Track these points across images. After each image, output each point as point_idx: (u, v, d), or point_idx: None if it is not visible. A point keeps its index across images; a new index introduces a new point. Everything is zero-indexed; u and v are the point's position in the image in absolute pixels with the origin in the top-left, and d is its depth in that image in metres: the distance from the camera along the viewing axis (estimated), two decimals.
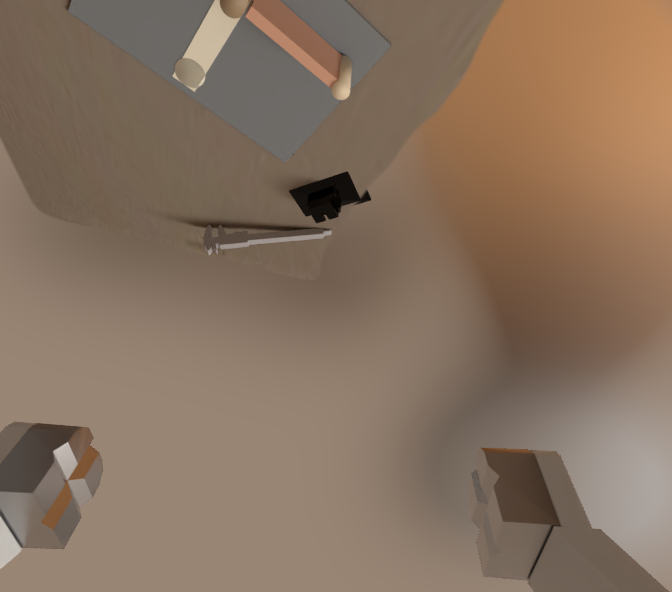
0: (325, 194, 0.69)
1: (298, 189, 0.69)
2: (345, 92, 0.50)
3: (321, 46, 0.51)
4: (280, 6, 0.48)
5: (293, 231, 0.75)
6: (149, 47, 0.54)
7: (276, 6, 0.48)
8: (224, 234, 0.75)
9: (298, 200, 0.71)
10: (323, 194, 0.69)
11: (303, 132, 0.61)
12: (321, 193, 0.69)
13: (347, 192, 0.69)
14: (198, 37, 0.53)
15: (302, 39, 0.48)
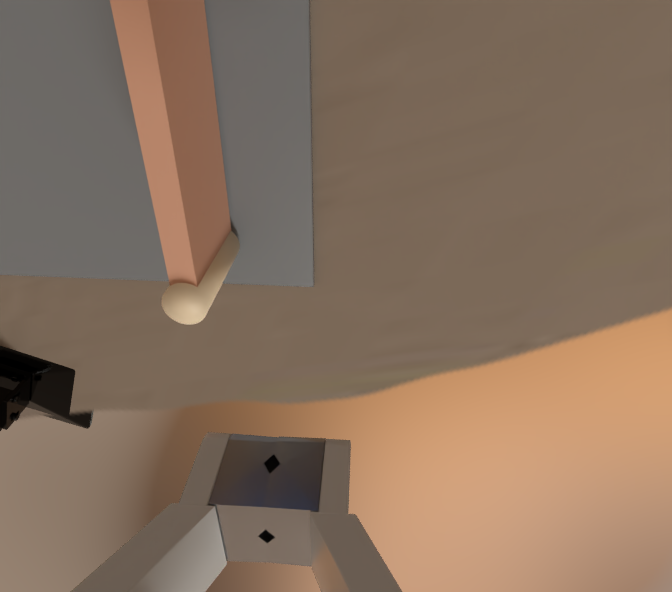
0: (4, 377, 0.32)
1: None
2: (191, 315, 0.21)
3: (215, 194, 0.22)
4: (202, 61, 0.20)
5: None
6: None
7: (196, 53, 0.19)
8: None
9: None
10: (0, 374, 0.32)
11: (52, 263, 0.27)
12: None
13: (52, 396, 0.34)
14: None
15: (193, 155, 0.19)
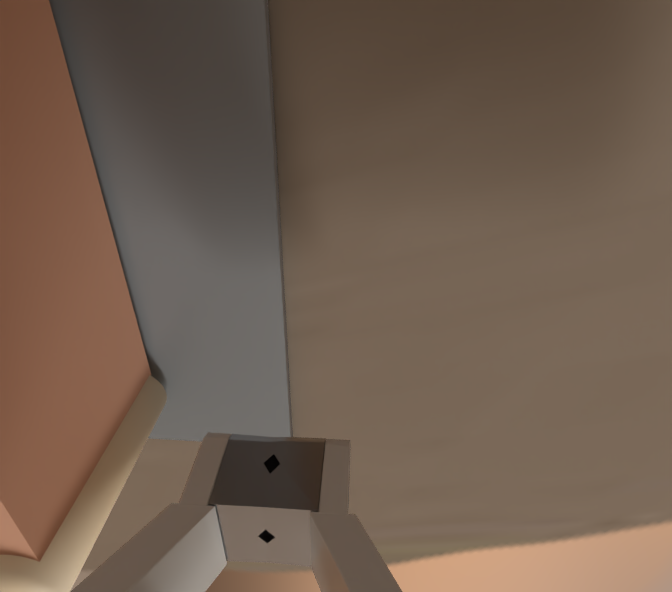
0: None
1: None
2: None
3: (99, 344, 0.12)
4: (41, 110, 0.09)
5: None
6: None
7: (16, 97, 0.09)
8: None
9: None
10: None
11: None
12: None
13: None
14: None
15: (12, 314, 0.09)
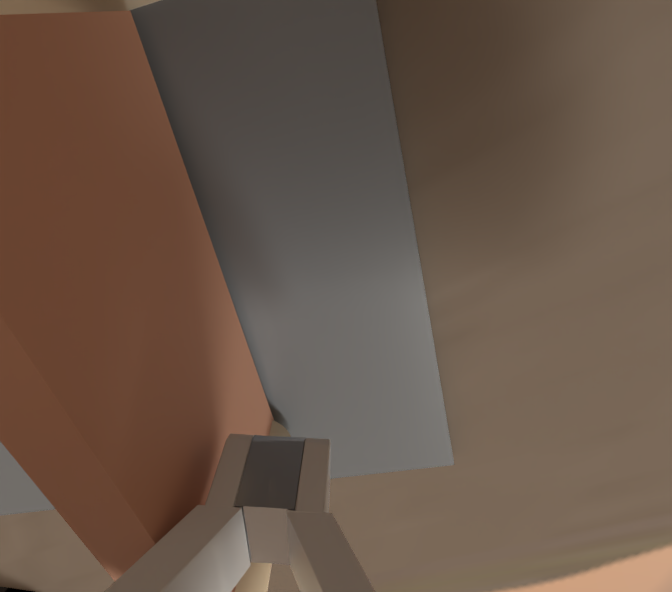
0: None
1: None
2: None
3: (232, 399, 0.11)
4: (155, 167, 0.09)
5: None
6: None
7: (135, 156, 0.08)
8: None
9: None
10: None
11: (42, 495, 0.18)
12: None
13: None
14: None
15: (165, 385, 0.08)
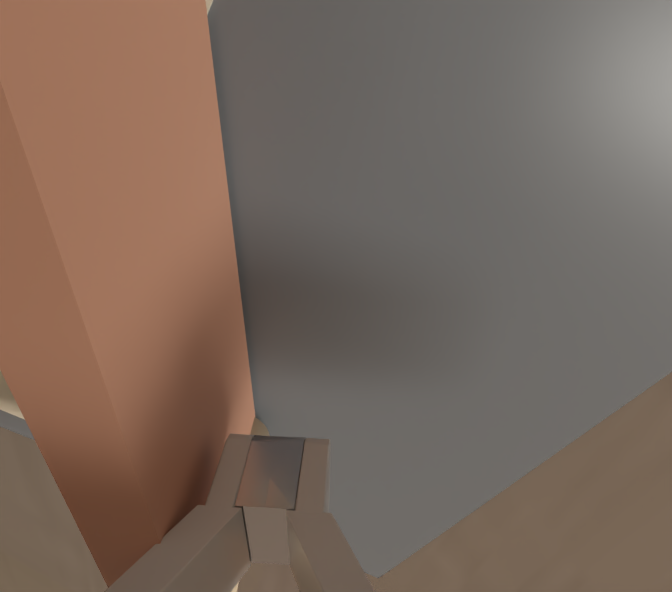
0: None
1: None
2: None
3: (229, 393, 0.11)
4: (202, 149, 0.09)
5: None
6: None
7: (189, 136, 0.08)
8: None
9: None
10: None
11: (449, 505, 0.17)
12: None
13: None
14: None
15: (184, 376, 0.08)
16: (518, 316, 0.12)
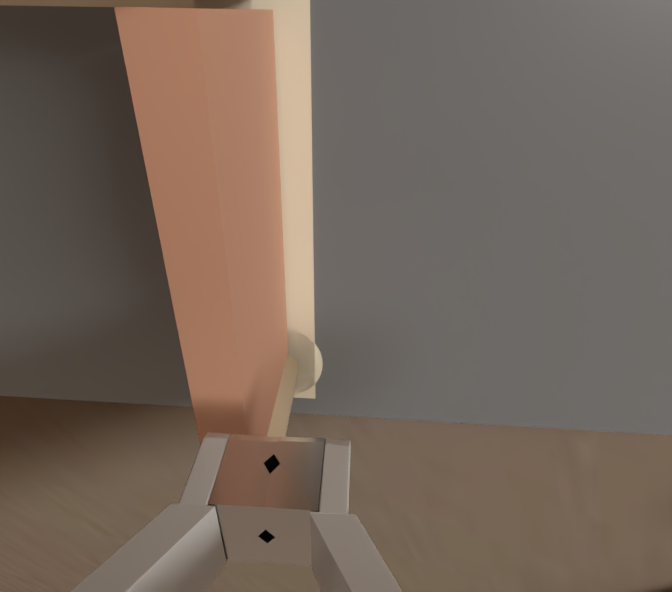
0: None
1: None
2: None
3: (275, 319, 0.14)
4: (268, 127, 0.12)
5: None
6: (154, 362, 0.19)
7: (263, 117, 0.11)
8: None
9: None
10: None
11: None
12: None
13: None
14: None
15: (255, 286, 0.11)
16: None
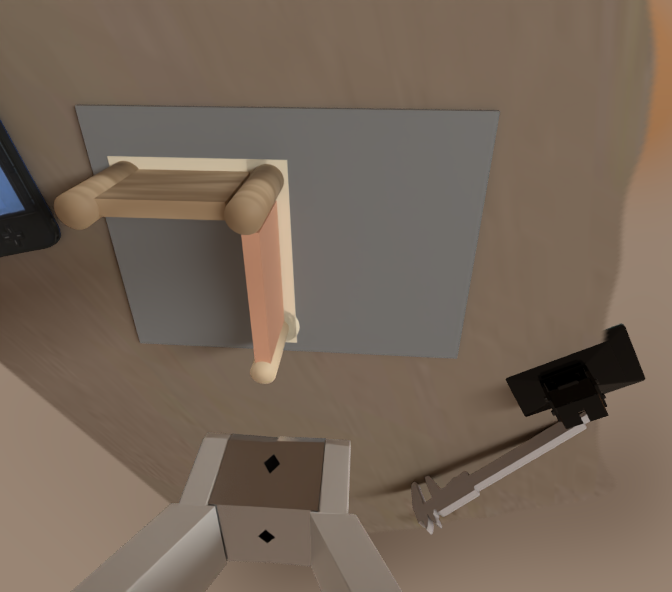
0: (570, 378, 0.42)
1: (520, 374, 0.43)
2: (266, 379, 0.36)
3: (278, 305, 0.38)
4: (275, 239, 0.35)
5: (532, 440, 0.46)
6: (225, 326, 0.42)
7: (273, 238, 0.34)
8: (438, 490, 0.49)
9: (518, 392, 0.44)
10: (566, 378, 0.42)
11: (455, 306, 0.39)
12: (563, 377, 0.42)
13: (606, 371, 0.41)
14: None
15: (271, 293, 0.35)
16: (416, 223, 0.35)
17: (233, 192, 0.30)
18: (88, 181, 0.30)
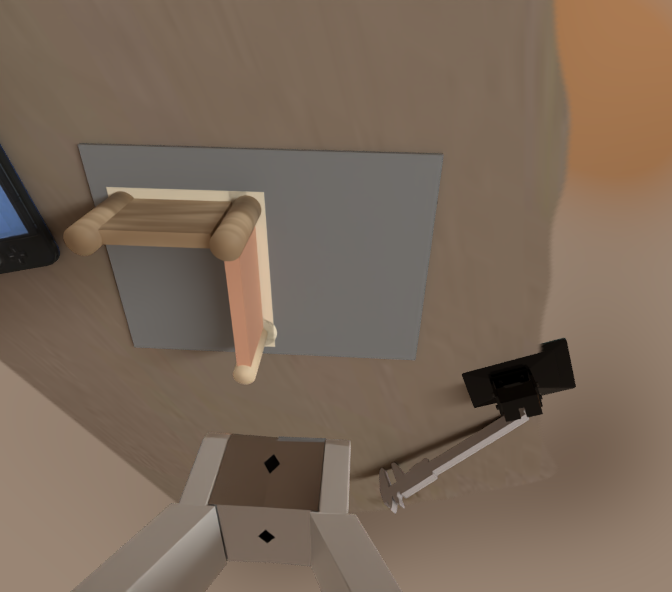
0: (515, 379, 0.48)
1: (474, 371, 0.49)
2: (247, 380, 0.41)
3: (257, 315, 0.43)
4: (254, 259, 0.41)
5: (483, 430, 0.52)
6: (211, 332, 0.47)
7: (252, 258, 0.40)
8: (402, 475, 0.55)
9: (470, 386, 0.50)
10: (512, 379, 0.48)
11: (412, 315, 0.45)
12: (509, 378, 0.48)
13: (546, 377, 0.48)
14: None
15: (250, 306, 0.40)
16: (376, 245, 0.41)
17: (217, 223, 0.36)
18: (92, 213, 0.35)
